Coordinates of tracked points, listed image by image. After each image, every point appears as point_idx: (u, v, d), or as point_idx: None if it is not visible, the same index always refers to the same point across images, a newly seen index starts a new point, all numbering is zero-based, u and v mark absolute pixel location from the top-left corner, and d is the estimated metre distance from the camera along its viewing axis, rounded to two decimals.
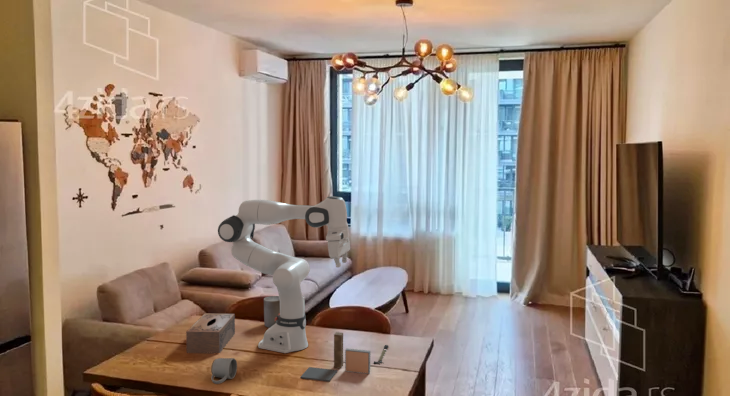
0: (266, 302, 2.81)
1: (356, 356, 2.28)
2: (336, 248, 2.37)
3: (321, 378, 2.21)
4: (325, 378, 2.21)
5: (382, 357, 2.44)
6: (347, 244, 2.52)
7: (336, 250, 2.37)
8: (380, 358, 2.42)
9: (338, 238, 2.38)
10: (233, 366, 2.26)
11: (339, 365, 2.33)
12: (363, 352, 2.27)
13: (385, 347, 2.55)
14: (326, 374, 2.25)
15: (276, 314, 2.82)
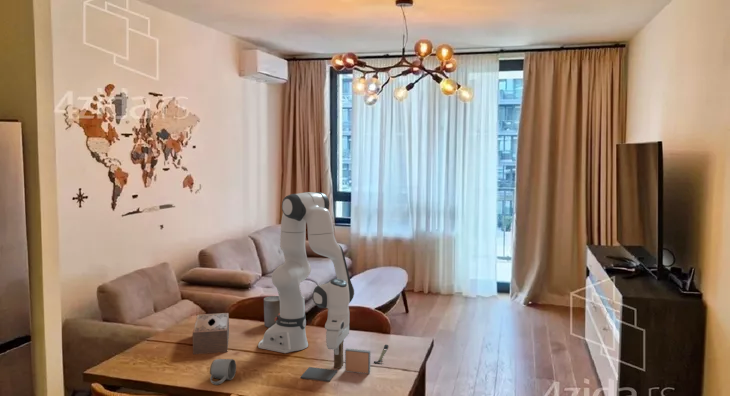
0: (266, 302, 2.81)
1: (356, 356, 2.28)
2: (335, 339, 2.23)
3: (321, 378, 2.21)
4: (325, 378, 2.21)
5: (382, 357, 2.44)
6: (346, 329, 2.38)
7: (334, 341, 2.23)
8: (380, 358, 2.42)
9: (338, 328, 2.24)
10: (232, 367, 2.25)
11: (339, 365, 2.33)
12: (363, 352, 2.27)
13: (385, 347, 2.55)
14: (326, 374, 2.25)
15: (276, 314, 2.82)
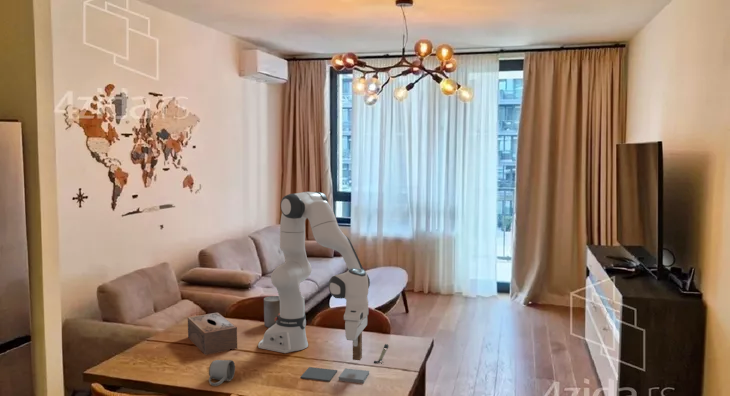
0: (266, 302, 2.81)
1: None
2: (354, 330, 2.16)
3: (321, 378, 2.21)
4: (325, 378, 2.21)
5: (382, 356, 2.44)
6: (365, 320, 2.31)
7: (354, 332, 2.16)
8: (380, 357, 2.43)
9: (357, 319, 2.16)
10: (231, 368, 2.24)
11: (358, 357, 2.25)
12: (357, 382, 2.19)
13: (385, 346, 2.56)
14: (326, 374, 2.25)
15: (276, 314, 2.82)
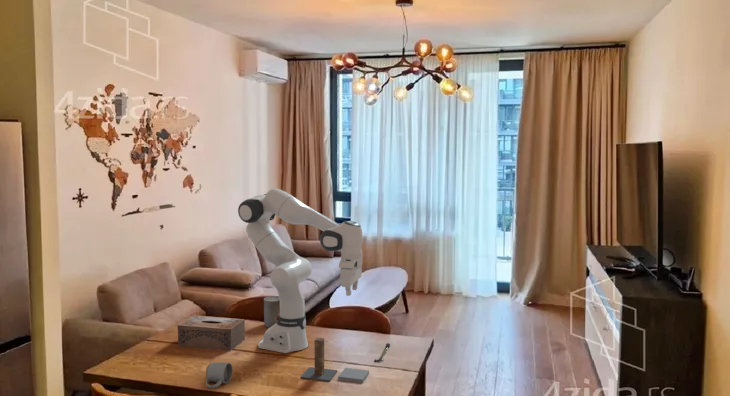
0: (266, 302, 2.81)
1: None
2: (349, 277, 2.29)
3: (321, 378, 2.21)
4: (325, 378, 2.21)
5: (383, 355, 2.46)
6: (359, 271, 2.44)
7: (348, 279, 2.29)
8: (381, 356, 2.44)
9: (352, 266, 2.29)
10: (229, 370, 2.22)
11: (320, 372, 2.24)
12: None
13: (387, 345, 2.57)
14: (326, 374, 2.25)
15: (276, 314, 2.82)
